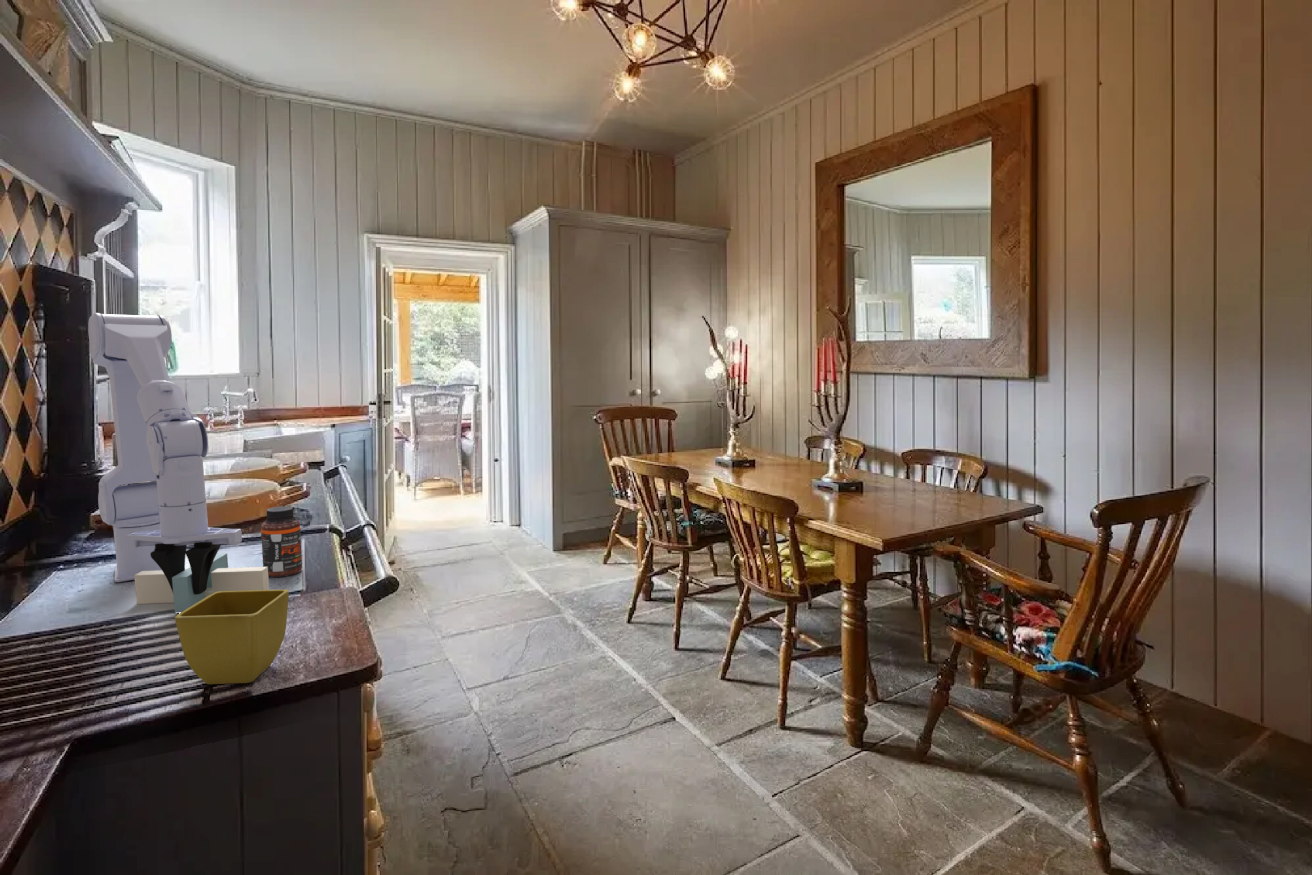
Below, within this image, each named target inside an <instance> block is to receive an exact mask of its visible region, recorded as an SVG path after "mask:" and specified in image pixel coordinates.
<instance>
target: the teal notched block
mask: <svg viewBox="0 0 1312 875" xmlns="http://www.w3.org/2000/svg"><path fill="white" fill-rule="evenodd" d="M228 560H229V558H228V553H217V554H216V556H215V558H214V561H213V563H212V566H211V569H210V572H209V576H208V581H207V588H208V587H212V579H211V572H213V571H214V570H216V569H217V568H229V561H228ZM172 583H173V595H174V603H173V607H174V613H175V612H183V611H185V610H186V609H188V608H189V607H191V606H193V605H194V604H196V603H197V602H199V601H201V600H202V599H204V598H205V594H204V592H202V593H201V594H196V595H195V594H194V591H193V581H192V572H191V567H190V566H189V567H188V568H185V570H184V571H183V572H181V573H179V574H177V575H175V576H174V577H172Z"/></svg>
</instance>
